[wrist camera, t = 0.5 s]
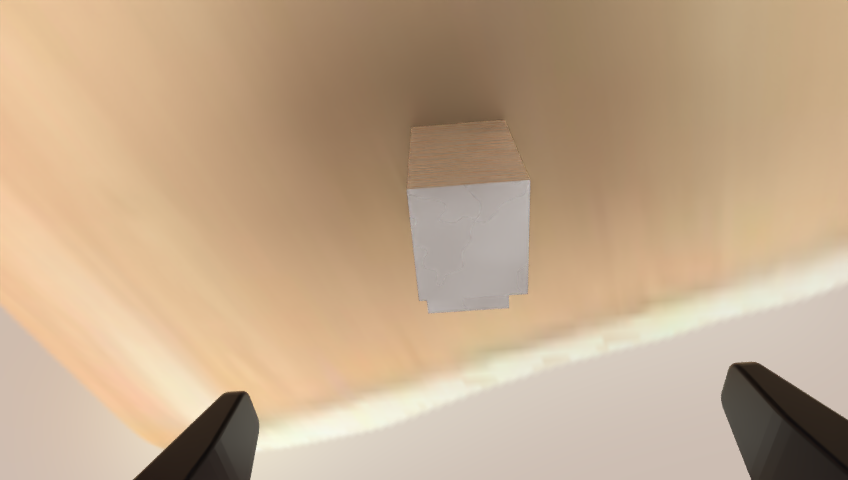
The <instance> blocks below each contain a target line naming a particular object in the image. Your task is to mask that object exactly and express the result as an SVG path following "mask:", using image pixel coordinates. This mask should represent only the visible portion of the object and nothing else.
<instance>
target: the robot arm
mask: <svg viewBox="0 0 848 480" xmlns="http://www.w3.org/2000/svg"><path fill="white" fill-rule="evenodd" d="M721 401H722V406H723V409H724V411H725V414H726V417H727V419H728V422H729V424H730V427H731V429H732V432H733V434H734V437H735V439H736V442H737V445H738V447H739V450H740V452H741V455H742V457H743V459H744V462H745V465H746V467H747V470H748V473H749V475H750V477H751V480H848V420H847V419H846V418H844V417H843V416H841V415H839V414H838V413H836V412H835V411H833V410H831V409H830V408H828V407H827V406H825V405H823V404H822V403H821V402H819V401H817V400H816V399H814V398H813V397H811V396H810V395H808V394H807V393H805V392H803V391H802V390H800V389H799V388H797V387H796V386H794V385H792V384H791V383H789V382H788V381H786V380H785V379H783V378H781V377H780V376H778V375H777V374H775V373H773V372H772V371H770V370H769V369H767V368H766V367H764V366H762V365H761V364H759V363H756V362H741V363H734V364H732V365H731V366H730V367H729V369H728V373H727V376H726V380H725V383H724V387H723V390H722V394H721ZM258 434H259V420H258V417H257V414H256V412H255V409H254V406H253V404H252V401H251V399H250V396H249V394H248V393H247V392H245V391H235V392H226V393H224V394H222V395H221V396H220V397H219V398H218V399H217V400H216V401H215V402H214V403H213V404H212V405H211V406H210V407H209V408H208V409H207V410H205V411H204V412H203V413H202V414H201V415H200V416H199V417H198V418H197V419H196V420H195V421H194V422H193V423H192V424H191V425H190V426H189V427H188V428H187V429H186V430H185V431H184V432H182V433H181V434H180V435H179V436H178V437H177V438H176V439H175V440H174V441H173V442H172V443H171V444H170V445H169V446H168V447H167V448H166V449H165V450H164V451H163V452H162V453H161V454H160V455H158V456H157V457H156V458H155V459H154V460H153V461H152V462H151V463H150V464H149V465H148V466H147V467H146V468H145V469H144V470H143V471H142V472H141V473H140V474H139V475H137V476H136V477H135V478H134V479H133V480H250V477H251V472H252V466H253V461H254V455H255V450H256V445H257V439H258Z"/></svg>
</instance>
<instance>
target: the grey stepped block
mask: <svg viewBox="0 0 848 480" xmlns="http://www.w3.org/2000/svg"><path fill="white" fill-rule="evenodd" d="M407 197H408V206H409V215H410V224H411V232H412V241H413V250H414V259H415V268H416V277H417V286H418V295H419V301H427V305H428V313H440V312H456V311H471V310H486V309H502V308H509V295H519V294H528V259H529V217H530V178H529V176H528V173H527V171H526V169H525V166H524V164H523V162H522V159H521V157H520V155H519V152H518V150H517V148H516V145H515V143H514V140H513V138H512V136H511V133H510V131H509V129H508V126H507V124H506V122H505V120H492V121H480V122H468V123H456V124H444V125H431V126H419V127H411V137H410V150H409V164H408V178H407Z"/></svg>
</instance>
